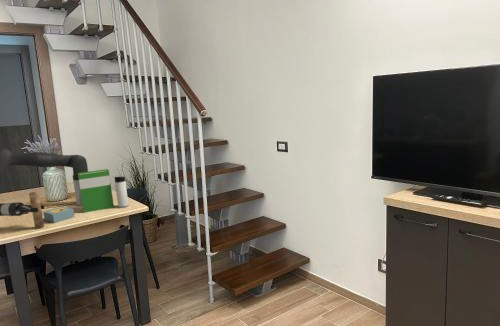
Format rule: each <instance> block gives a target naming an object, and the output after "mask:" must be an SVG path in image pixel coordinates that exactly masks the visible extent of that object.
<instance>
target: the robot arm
mask: <svg viewBox="0 0 500 326" xmlns="http://www.w3.org/2000/svg"><path fill="white" fill-rule="evenodd" d="M9 166H26V167H34V168H53V167H54V168H57V167H66V168H72V181H73V189H74V194H75V202H76V205H77V206H83V203H82V197H81V190H80V184H79V177H78V173H82V172H89V168H88V167H89V166H88V161H87V159H86V157H85V156H83V155H80V154H68V155H67V154H65V155H64V154H56V153H51V152H40V151H35V152H34V151H33V152H23V153H21V152H11V151H10V150H9V149H8V148H0V190H1V189H2V185H3V184H2V183H3V180H4V177H5V175H6V172H7V169H8V167H9ZM40 205H41V210H45V205H44V204H40ZM32 212H38V208H31V204H24V203H23V202H20V201H18V202H4V203H2V202H1V203H0V217H2V216H3V217H4V216H5V217H6V216H7V217H20V216H23V215H28V214H29V213H30V214H31V213H32Z"/></svg>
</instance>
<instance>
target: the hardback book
mask: <svg viewBox="0 0 500 326" xmlns="http://www.w3.org/2000/svg"><path fill="white" fill-rule="evenodd" d="M78 177H79V184H80V190H81V197H82V203H83V205H82V208H83V213H84V214H85V213H89V212H96V211H102V210H107V209H113V208H114V207H115V205H114V198H113V191H112V184H111V183H112V182H111V177H110V171H109V169H108V168H106V169H105V168H104V169H97V170H92V171H89V170H88V172H82V173H78Z"/></svg>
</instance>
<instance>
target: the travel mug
mask: <svg viewBox="0 0 500 326" xmlns="http://www.w3.org/2000/svg"><path fill="white" fill-rule="evenodd" d="M114 183H115V191H116V199H117V206H118V208H120V209H124V208H127V207H129V204H130V203H129V199H128V191H127V183H126V177H125V176H115V177H114Z"/></svg>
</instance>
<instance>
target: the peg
mask: <svg viewBox="0 0 500 326" xmlns="http://www.w3.org/2000/svg"><path fill="white" fill-rule="evenodd" d="M28 195H29V202H30V205H31V208H38V212H31V213H32V218H33V224H34V228H35V230H39V229H43V228H45V223H44V216H43V212H42V209H41V205H42V204H41V201H40V195H39V192H38V191H32V192H29V193H28Z"/></svg>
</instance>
